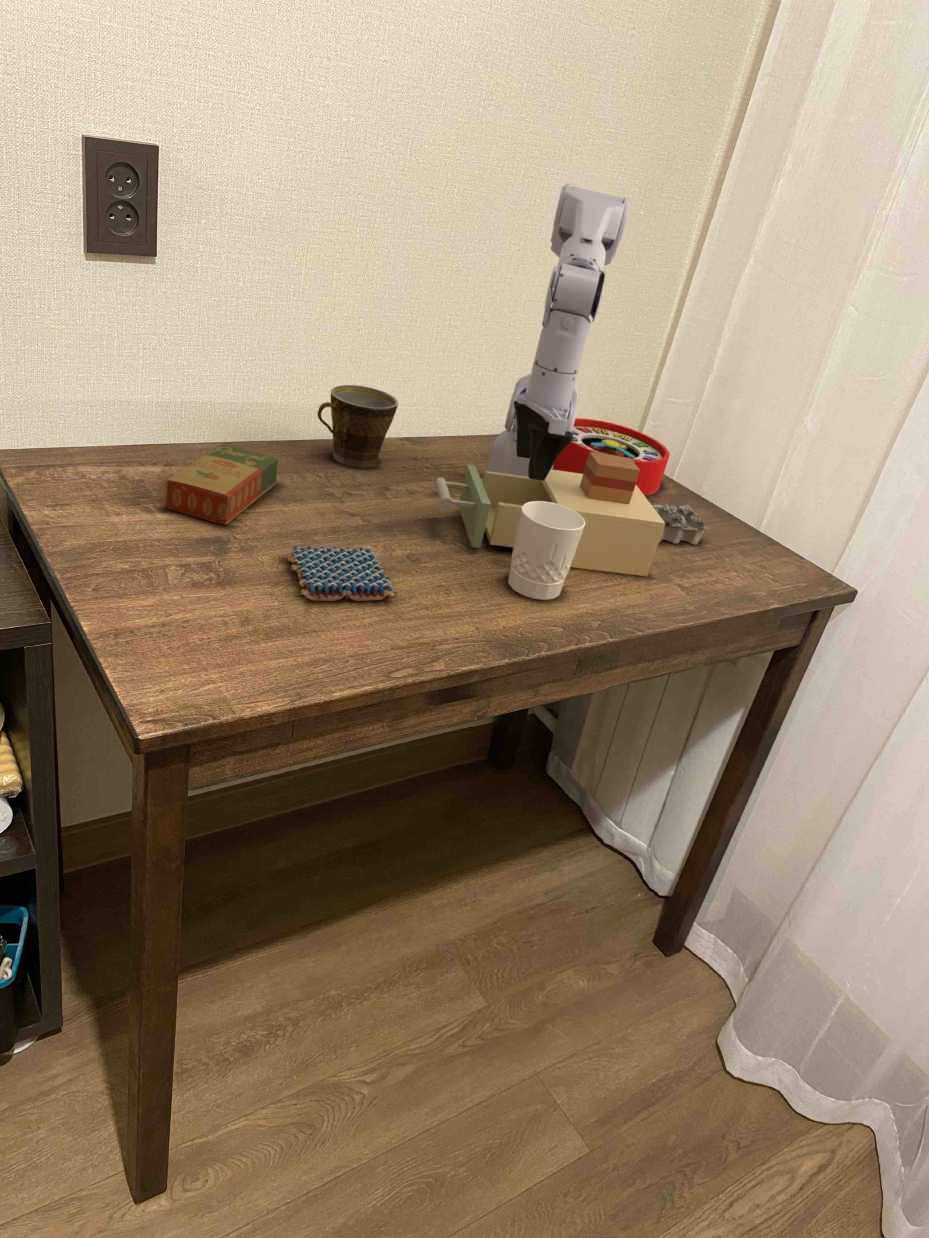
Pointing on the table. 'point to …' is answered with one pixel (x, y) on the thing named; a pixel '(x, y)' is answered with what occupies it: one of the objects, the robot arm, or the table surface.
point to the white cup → (544, 549)
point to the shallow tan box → (609, 527)
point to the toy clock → (615, 450)
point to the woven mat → (340, 574)
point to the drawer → (492, 503)
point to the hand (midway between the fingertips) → (530, 467)
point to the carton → (221, 483)
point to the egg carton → (680, 523)
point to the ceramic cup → (359, 423)
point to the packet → (609, 478)
